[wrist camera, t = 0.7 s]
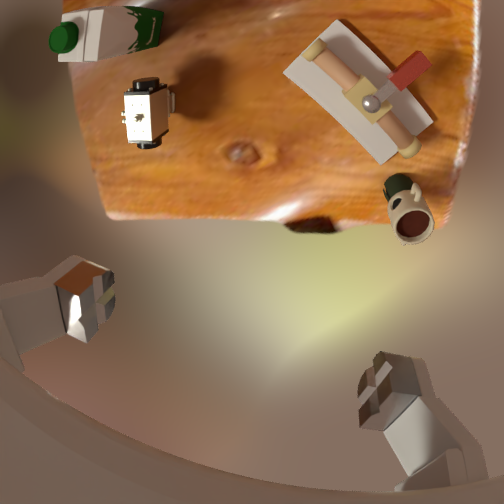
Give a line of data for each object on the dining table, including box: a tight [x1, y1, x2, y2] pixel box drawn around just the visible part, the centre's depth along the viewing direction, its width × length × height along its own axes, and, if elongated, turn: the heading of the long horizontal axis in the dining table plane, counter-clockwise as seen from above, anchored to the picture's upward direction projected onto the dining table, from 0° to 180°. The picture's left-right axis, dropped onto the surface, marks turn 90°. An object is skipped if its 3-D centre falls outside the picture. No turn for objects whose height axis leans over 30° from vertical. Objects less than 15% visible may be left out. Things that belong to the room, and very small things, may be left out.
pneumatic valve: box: [122, 77, 175, 149], centre depth 44 cm, size 6×12×12 cm, turn 175°
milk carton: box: [49, 6, 164, 62], centre depth 31 cm, size 9×9×20 cm
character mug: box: [383, 174, 435, 246], centre depth 46 cm, size 11×7×13 cm, turn 2°
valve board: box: [283, 20, 433, 165], centre depth 38 cm, size 13×23×8 cm, turn 52°
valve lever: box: [362, 51, 432, 113], centre depth 32 cm, size 12×3×2 cm, turn 142°
